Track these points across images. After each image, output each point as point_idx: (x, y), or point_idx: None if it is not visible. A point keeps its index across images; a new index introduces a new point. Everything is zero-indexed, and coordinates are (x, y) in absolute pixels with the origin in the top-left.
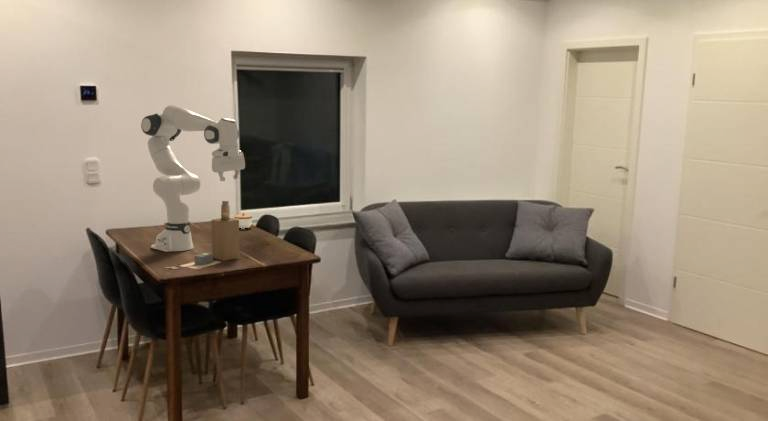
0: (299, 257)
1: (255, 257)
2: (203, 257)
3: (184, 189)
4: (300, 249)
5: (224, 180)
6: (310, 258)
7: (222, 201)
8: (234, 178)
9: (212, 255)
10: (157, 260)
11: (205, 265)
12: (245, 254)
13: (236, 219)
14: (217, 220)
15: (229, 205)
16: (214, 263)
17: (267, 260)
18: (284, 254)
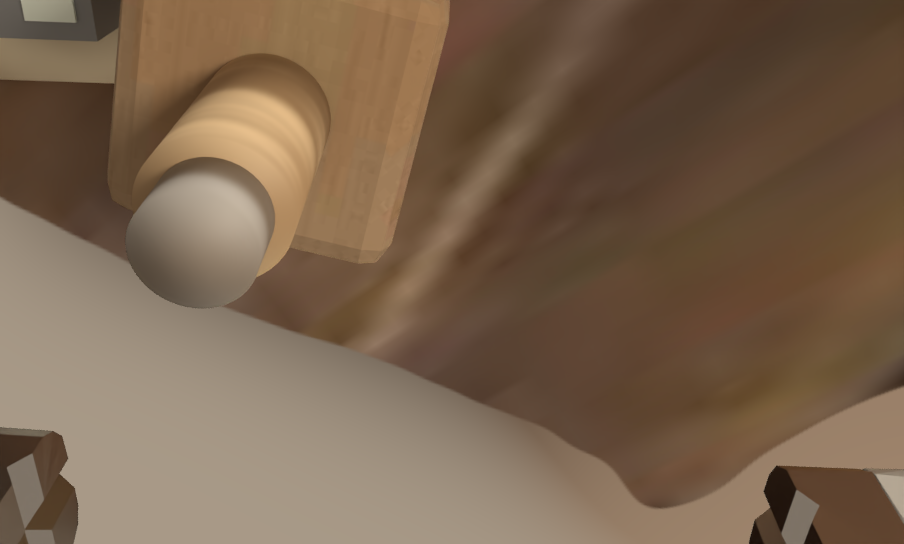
0: (675, 432)
1: (527, 174)
2: None
3: None
4: None
5: (59, 535)
6: (678, 497)
7: (129, 223)
8: (772, 514)
9: (97, 37)
10: None
11: (6, 43)
12: (584, 29)
13: (355, 249)
14: (133, 68)
15: (260, 272)
16: (105, 63)
17: (487, 305)
18: (721, 305)
